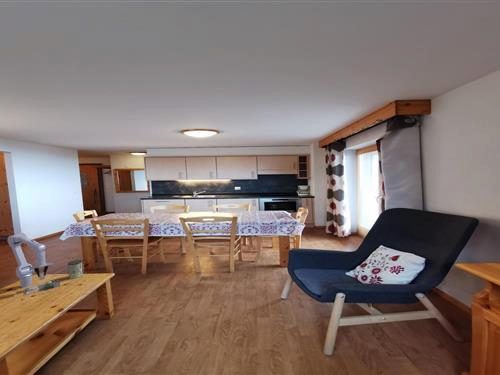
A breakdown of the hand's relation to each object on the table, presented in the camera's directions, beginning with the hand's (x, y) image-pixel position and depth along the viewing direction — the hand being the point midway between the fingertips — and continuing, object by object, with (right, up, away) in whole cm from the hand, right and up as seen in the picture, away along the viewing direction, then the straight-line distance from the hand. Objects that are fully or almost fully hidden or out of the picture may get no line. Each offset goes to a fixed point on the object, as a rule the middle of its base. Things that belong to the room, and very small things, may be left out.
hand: (42, 276), depth 195 cm
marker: (0, -2, 0) cm, 2 cm away
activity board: (+1, -10, 0) cm, 10 cm away
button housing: (+6, -9, -1) cm, 11 cm away
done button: (+6, -5, -1) cm, 8 cm away
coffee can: (+13, -9, +21) cm, 26 cm away
